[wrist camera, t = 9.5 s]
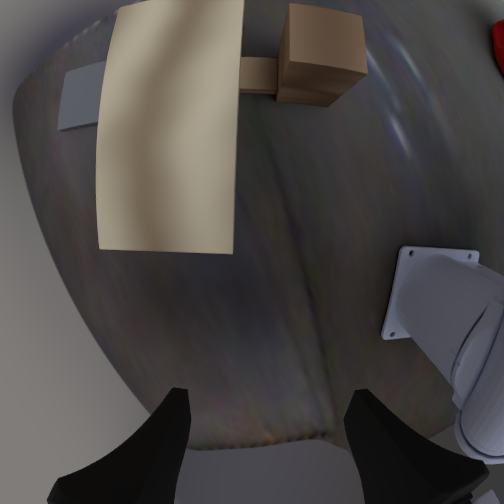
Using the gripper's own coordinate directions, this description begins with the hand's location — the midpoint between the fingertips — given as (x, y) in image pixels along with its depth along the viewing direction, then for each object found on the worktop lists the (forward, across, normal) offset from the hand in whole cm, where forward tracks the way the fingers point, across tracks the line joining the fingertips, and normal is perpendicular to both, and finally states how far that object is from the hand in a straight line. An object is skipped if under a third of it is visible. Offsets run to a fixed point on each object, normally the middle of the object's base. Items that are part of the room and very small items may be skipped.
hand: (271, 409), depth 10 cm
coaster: (+10, +14, -16) cm, 23 cm away
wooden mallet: (+10, +4, -16) cm, 19 cm away
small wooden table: (+10, +6, -13) cm, 18 cm away
